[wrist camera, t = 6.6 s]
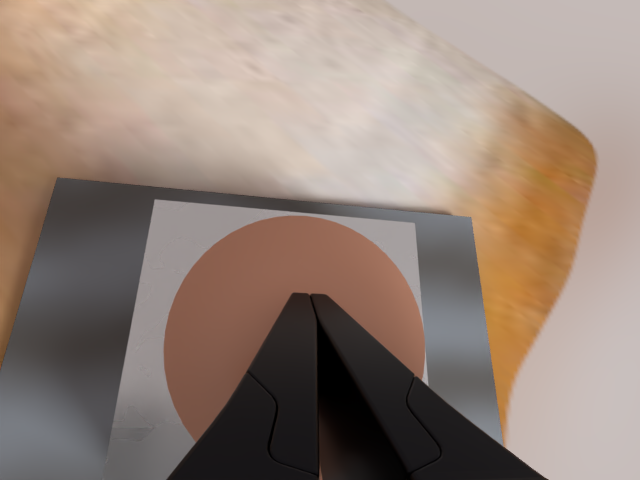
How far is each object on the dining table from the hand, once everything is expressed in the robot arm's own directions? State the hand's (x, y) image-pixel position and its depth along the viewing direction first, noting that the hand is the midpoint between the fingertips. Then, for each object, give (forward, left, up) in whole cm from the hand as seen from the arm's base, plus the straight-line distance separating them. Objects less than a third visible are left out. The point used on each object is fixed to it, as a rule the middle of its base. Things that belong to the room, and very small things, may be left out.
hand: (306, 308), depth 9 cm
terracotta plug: (0, 0, -7) cm, 7 cm away
